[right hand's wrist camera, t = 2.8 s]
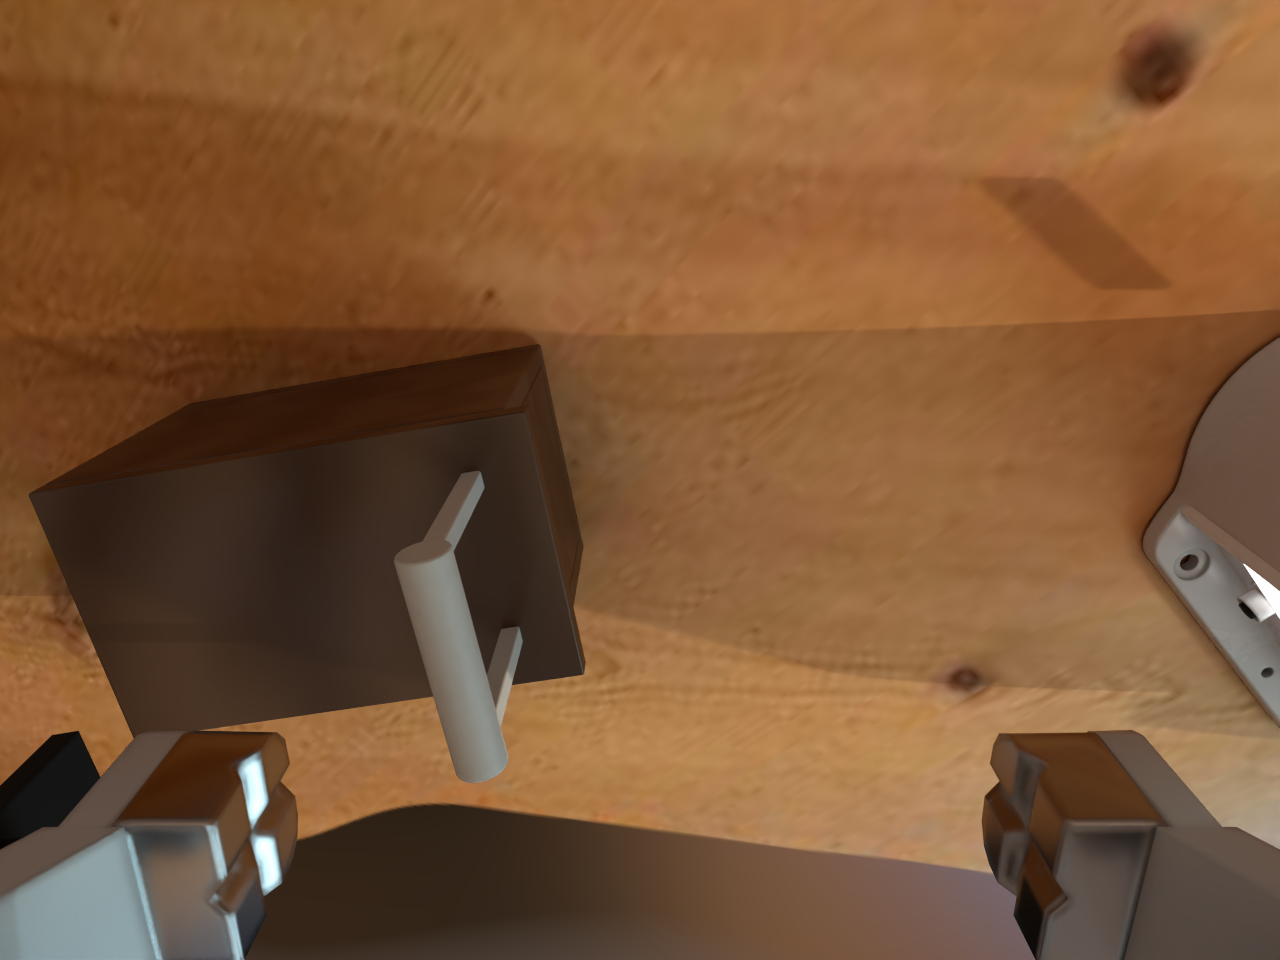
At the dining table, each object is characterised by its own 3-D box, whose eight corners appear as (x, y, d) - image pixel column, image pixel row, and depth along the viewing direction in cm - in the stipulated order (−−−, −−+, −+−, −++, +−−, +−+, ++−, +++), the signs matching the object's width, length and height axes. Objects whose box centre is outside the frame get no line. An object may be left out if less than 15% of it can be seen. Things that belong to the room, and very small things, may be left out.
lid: (528, 403, 31) (486, 493, 23) (586, 663, 35) (566, 818, 27) (42, 485, 32) (-158, 596, 24) (145, 727, 36) (0, 894, 28)
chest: (540, 343, 41) (503, 408, 31) (583, 547, 45) (564, 665, 35) (188, 403, 43) (43, 484, 32) (257, 598, 46) (146, 726, 36)
